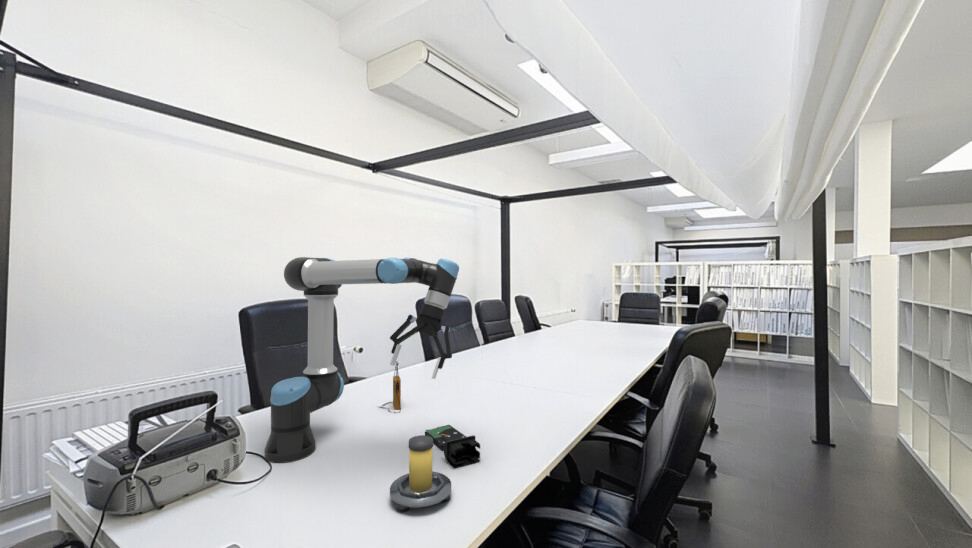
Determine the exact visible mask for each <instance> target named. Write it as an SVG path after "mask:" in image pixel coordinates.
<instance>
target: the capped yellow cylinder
mask: <svg viewBox="0 0 972 548" xmlns="http://www.w3.org/2000/svg"><path fill="white" fill-rule="evenodd" d="M433 447H434V444H433V438H432V437H430V436H425V434H424V435H415V436H412V437H410V438H409V439H408V449H409V450H408V451H409V453H408V457H409V458H408V459H409V461H408V465H409V466H408V467H409V469H408V470H409V472H408V473H409V488H410V490H412V491H414V492H424V491H427V490H429V489H430V488H431V487H432V471H433Z"/></svg>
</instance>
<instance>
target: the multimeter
mask: <svg viewBox="0 0 972 548" xmlns="http://www.w3.org/2000/svg"><path fill="white" fill-rule="evenodd" d="M399 364H400V363H399V362H398V361H396V363H395V365H396V366H394V367H395V369H394V371H395V372H393V373H394V375H393V376H392V401H389V402H385V403H384V404H382V405H380V406H376V407H377V408H380V409H388V410H387V411H388V413H389V412H390V413H391V411H390V408H389V407H385V405H387V404H391V403H392V406H393V410H394V411H393V412H394V413H393V414H397V413H396V412H395V409H396V410H399V412H401V411H402V410H401V409H402V408H401V406H402V405H401V403H402V402H401V395H402V394H401V393H402V391H401V389H402V388H401V386H402V385H401V384H402V383H401V379H402V378H401V377H400V375H399V374H398V372H399V367H398V366H399ZM383 405H384V406H383Z"/></svg>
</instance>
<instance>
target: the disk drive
mask: <svg viewBox="0 0 972 548" xmlns="http://www.w3.org/2000/svg"><path fill="white" fill-rule="evenodd" d="M424 435H425V436H430V437H432V438H433V446H435V447H437V449H439V450H440V451H441V452H444V451H443V447H444V443H445V442H447V441H451V440H455V439H460V438H464V437H467V435H465V434H463V433H462V432H460V431H459V430H458V429H456V428H454V427H453V425H450V424H446V425H442V426H436V427H435V428H431V429H425V431H424Z"/></svg>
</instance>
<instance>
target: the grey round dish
mask: <svg viewBox="0 0 972 548" xmlns="http://www.w3.org/2000/svg"><path fill="white" fill-rule="evenodd" d="M451 491H452V481H451V479H450V478H449V477H448V476H447V475H446V474H443V473H441V472H438V471H433V470H432V487H431V488H430V489H429V490H427V491H424V492H414V491H412V490H410V488H409V472H408V473H406V474H403V475H400V476H399V477H398V478H396V479H394V481H393V482H392V483H391V485H390V487H389V497H390V499H391V500H392V501H393V502H394V503H395V504H396V505H395V507H396V512H398V513H407V512H409V511H410V510H411V509H412V508H414V509H418V508H426V507H431V506H434V505H437V504H440V503H441V504H445V503H449V501H451V493H452V492H451Z"/></svg>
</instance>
